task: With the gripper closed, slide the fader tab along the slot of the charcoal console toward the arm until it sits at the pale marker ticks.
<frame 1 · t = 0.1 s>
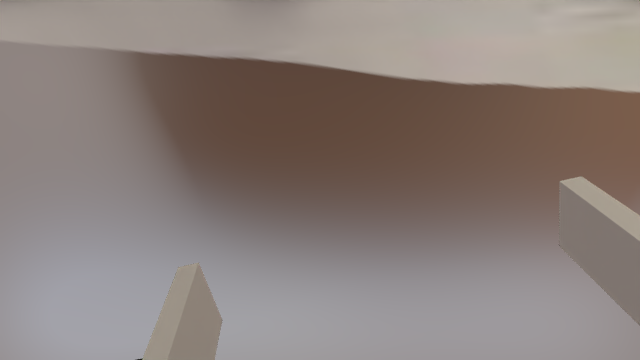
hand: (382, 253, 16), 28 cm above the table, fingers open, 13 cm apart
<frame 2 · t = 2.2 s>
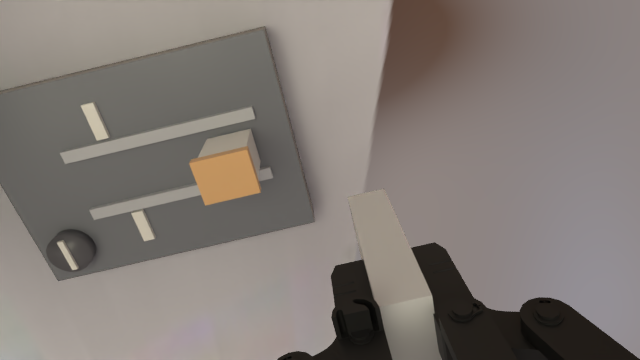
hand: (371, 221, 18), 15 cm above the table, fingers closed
fader: (230, 163, 28), point 5 cm above the table, slide at 0.0 cm
console: (157, 157, 32), on the table
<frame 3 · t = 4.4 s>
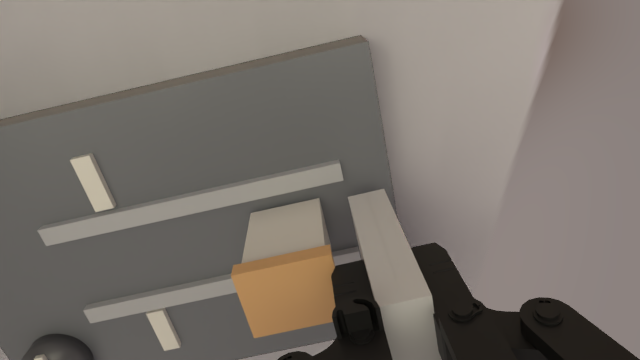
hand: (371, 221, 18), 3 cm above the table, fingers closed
fader: (291, 259, 17), point 5 cm above the table, slide at 0.7 cm, touching gripper
console: (185, 228, 22), on the table
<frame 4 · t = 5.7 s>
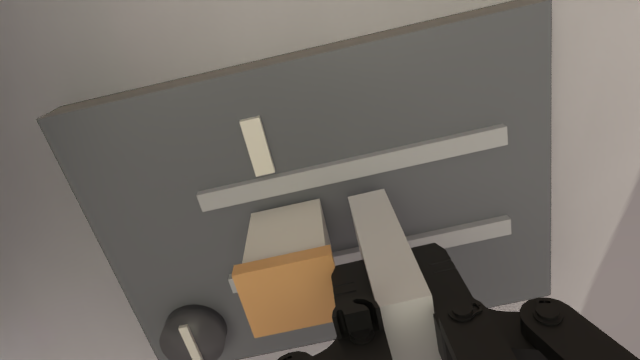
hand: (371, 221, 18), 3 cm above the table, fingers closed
fader: (291, 259, 17), point 5 cm above the table, slide at 7.6 cm, touching gripper
console: (323, 198, 21), on the table
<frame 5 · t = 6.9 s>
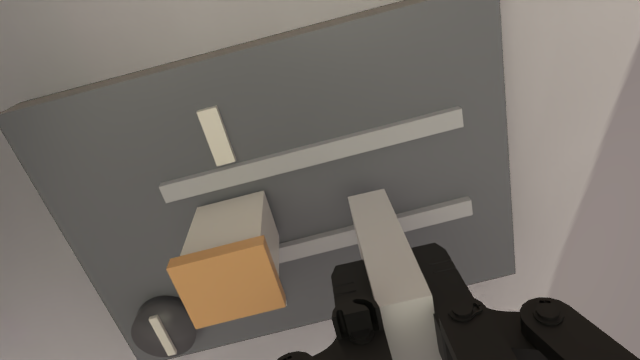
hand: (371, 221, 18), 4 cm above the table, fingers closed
fader: (234, 251, 17), point 5 cm above the table, slide at 8.4 cm
console: (289, 186, 22), on the table
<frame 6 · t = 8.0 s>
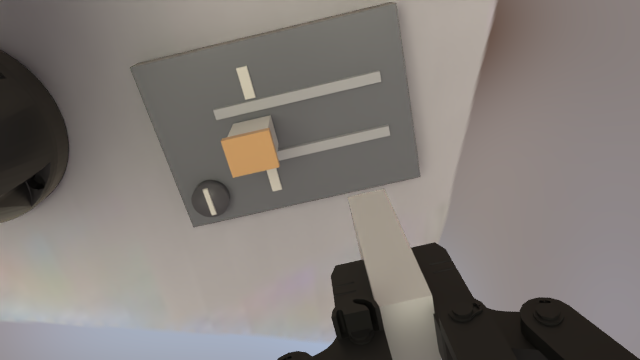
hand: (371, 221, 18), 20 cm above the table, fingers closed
fader: (253, 143, 33), point 5 cm above the table, slide at 8.4 cm
console: (285, 118, 37), on the table
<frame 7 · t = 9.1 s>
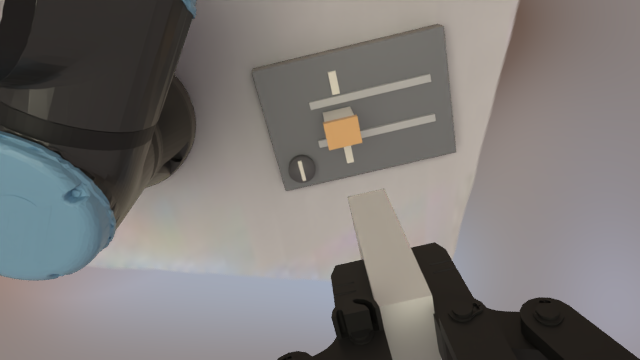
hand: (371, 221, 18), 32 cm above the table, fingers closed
fader: (340, 126, 45), point 5 cm above the table, slide at 8.4 cm
console: (356, 109, 49), on the table
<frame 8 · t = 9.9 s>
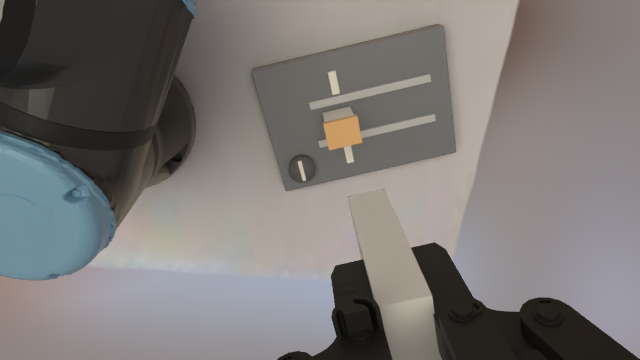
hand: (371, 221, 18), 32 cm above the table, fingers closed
fader: (340, 126, 45), point 5 cm above the table, slide at 8.4 cm
console: (356, 109, 49), on the table
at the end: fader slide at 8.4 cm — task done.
